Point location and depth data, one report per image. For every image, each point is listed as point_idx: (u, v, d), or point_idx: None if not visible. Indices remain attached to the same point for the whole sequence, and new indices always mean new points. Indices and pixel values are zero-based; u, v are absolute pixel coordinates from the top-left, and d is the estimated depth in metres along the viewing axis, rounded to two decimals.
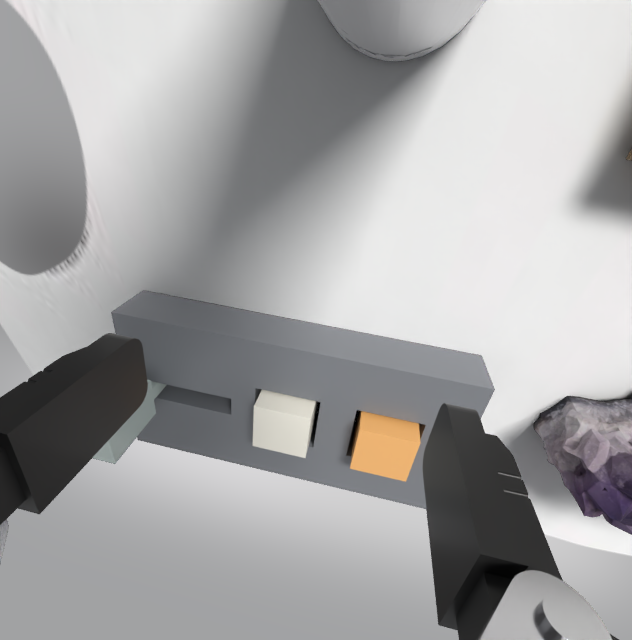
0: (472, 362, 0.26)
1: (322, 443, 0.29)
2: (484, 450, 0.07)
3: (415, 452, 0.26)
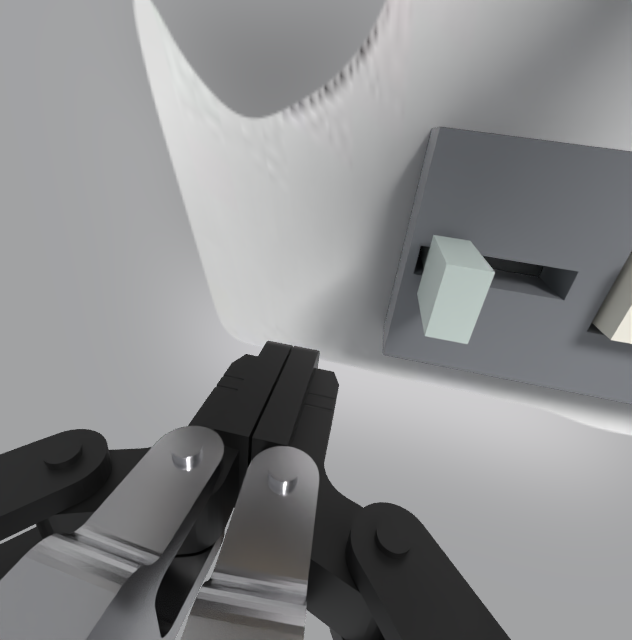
0: None
1: None
2: (305, 376, 0.08)
3: None
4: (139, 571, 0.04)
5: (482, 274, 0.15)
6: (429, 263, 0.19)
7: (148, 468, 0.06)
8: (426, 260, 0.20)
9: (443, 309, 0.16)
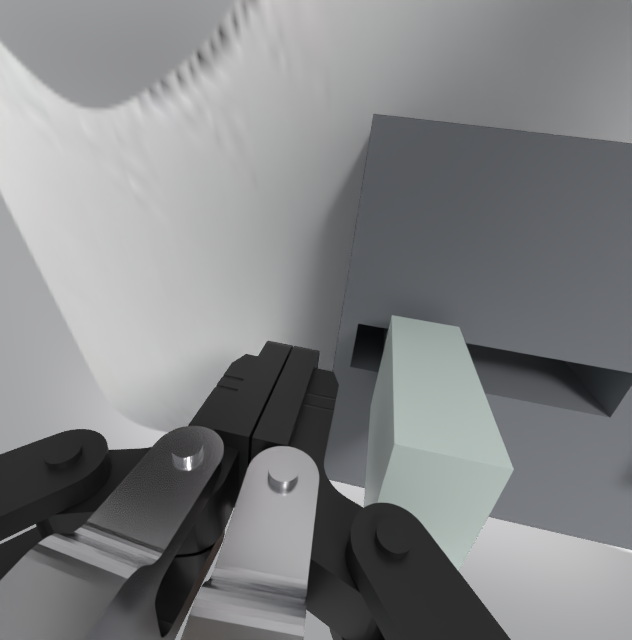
0: None
1: None
2: (305, 376, 0.08)
3: None
4: (139, 571, 0.04)
5: (482, 471, 0.06)
6: (383, 371, 0.10)
7: (148, 468, 0.06)
8: (382, 356, 0.11)
9: None
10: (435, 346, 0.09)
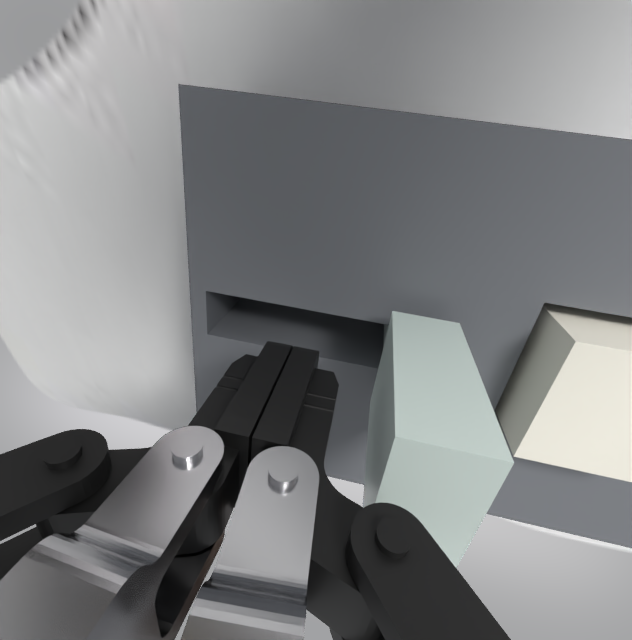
0: None
1: None
2: (305, 376, 0.08)
3: None
4: (139, 571, 0.04)
5: (482, 464, 0.06)
6: (383, 367, 0.10)
7: (148, 468, 0.06)
8: (382, 352, 0.11)
9: None
10: (435, 341, 0.09)
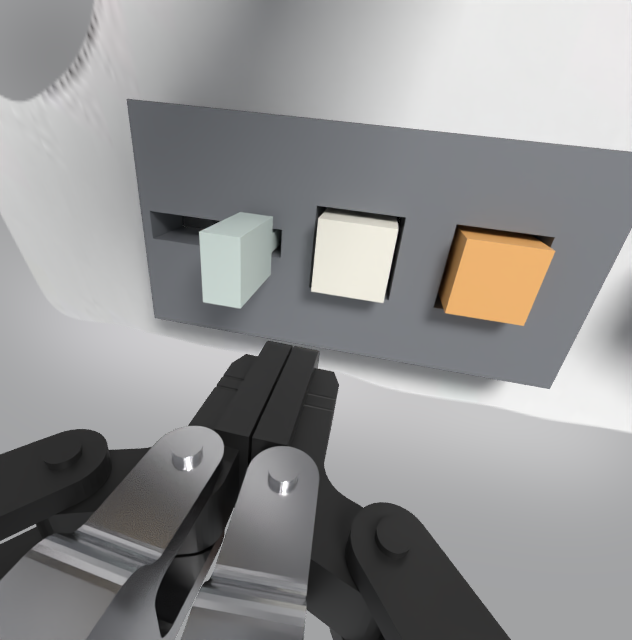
0: None
1: (402, 291, 0.22)
2: (305, 376, 0.08)
3: (545, 269, 0.19)
4: (139, 571, 0.04)
5: (230, 240, 0.16)
6: None
7: (148, 468, 0.06)
8: None
9: (210, 275, 0.17)
10: (250, 219, 0.19)
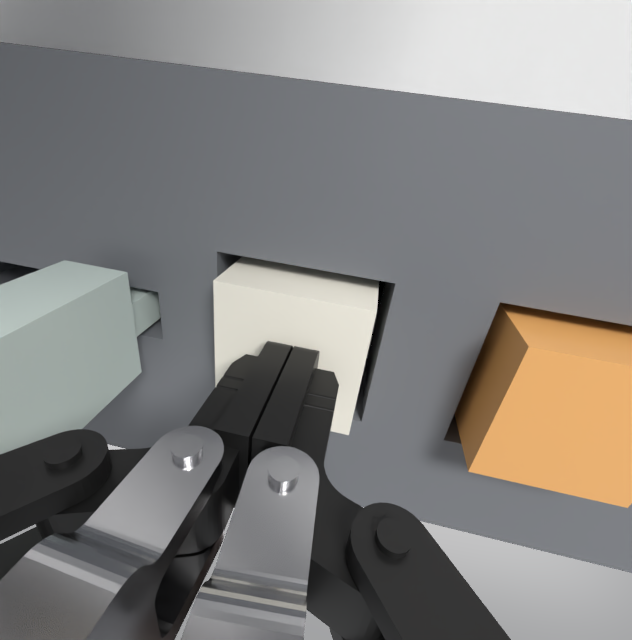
0: None
1: (386, 409, 0.12)
2: (305, 376, 0.08)
3: None
4: (139, 571, 0.04)
5: None
6: None
7: (148, 468, 0.06)
8: None
9: None
10: (59, 285, 0.09)
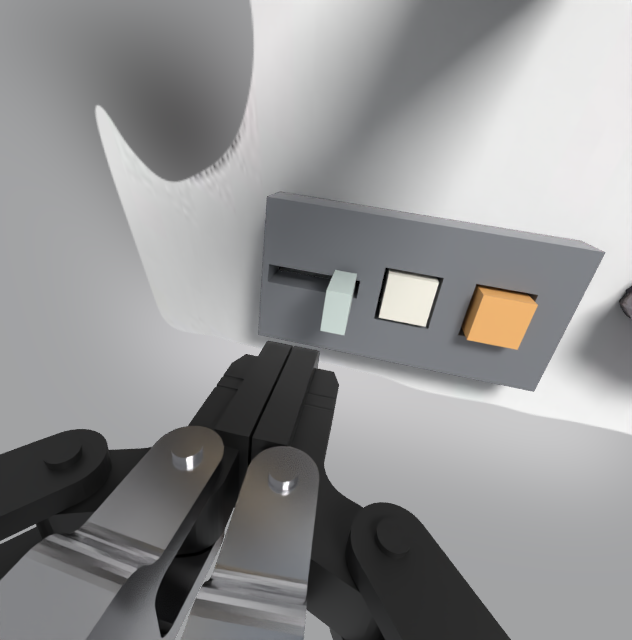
0: (576, 242, 0.31)
1: (437, 323, 0.33)
2: (305, 376, 0.08)
3: (531, 315, 0.30)
4: (139, 571, 0.04)
5: (345, 296, 0.27)
6: None
7: (148, 468, 0.06)
8: None
9: (328, 314, 0.28)
10: (346, 277, 0.31)
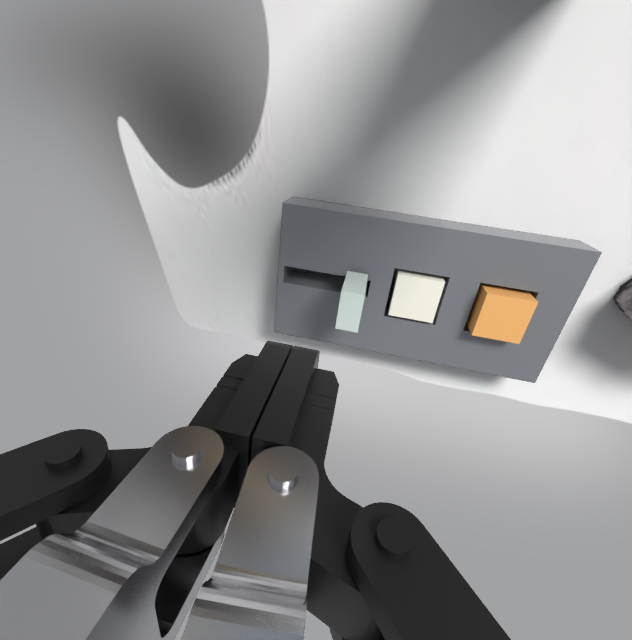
0: (575, 242, 0.33)
1: (444, 320, 0.35)
2: (305, 376, 0.08)
3: (532, 312, 0.32)
4: (139, 571, 0.04)
5: (359, 296, 0.29)
6: None
7: (148, 468, 0.06)
8: None
9: (342, 314, 0.30)
10: (358, 278, 0.33)
